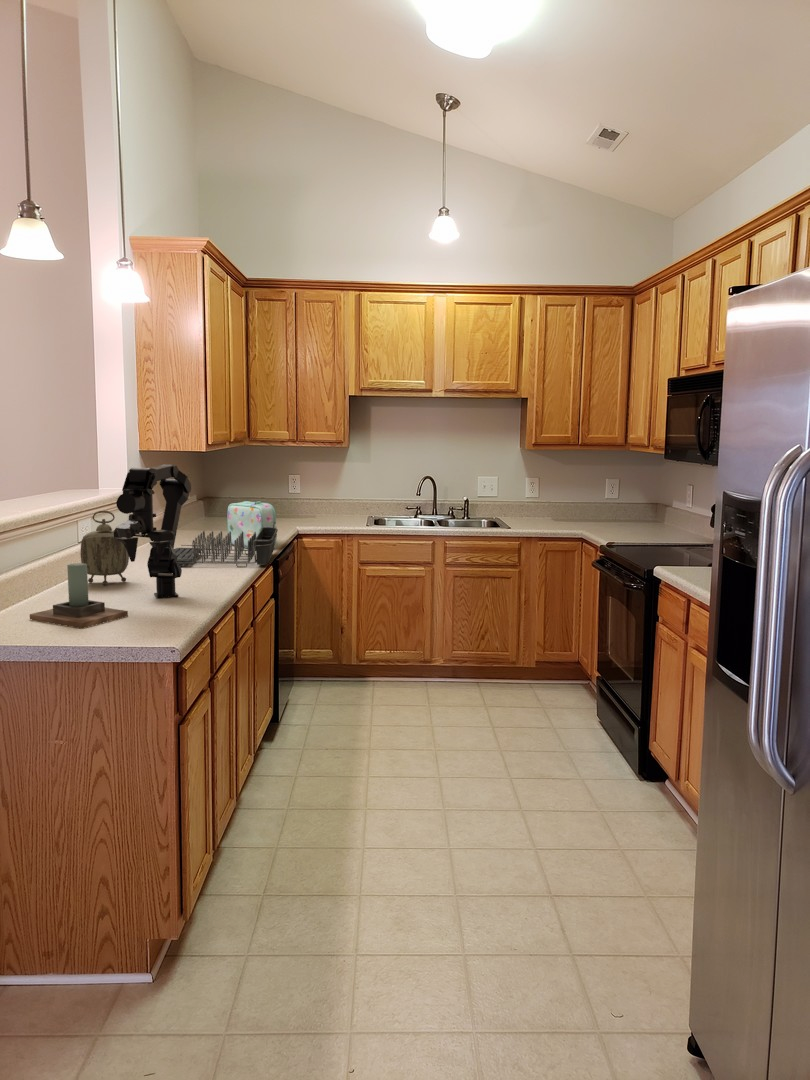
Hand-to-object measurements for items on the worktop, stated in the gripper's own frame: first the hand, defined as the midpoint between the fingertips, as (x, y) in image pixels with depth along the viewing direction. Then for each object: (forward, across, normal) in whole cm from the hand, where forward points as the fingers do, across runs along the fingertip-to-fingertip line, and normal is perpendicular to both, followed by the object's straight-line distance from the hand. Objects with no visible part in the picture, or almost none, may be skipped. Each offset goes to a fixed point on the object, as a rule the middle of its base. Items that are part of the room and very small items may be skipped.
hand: (144, 562), depth 228 cm
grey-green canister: (+11, -5, -20) cm, 23 cm away
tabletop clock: (+13, -36, +18) cm, 42 cm away
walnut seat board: (+13, -5, -20) cm, 24 cm away
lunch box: (+12, -46, +111) cm, 120 cm away
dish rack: (+13, -34, +74) cm, 82 cm away
